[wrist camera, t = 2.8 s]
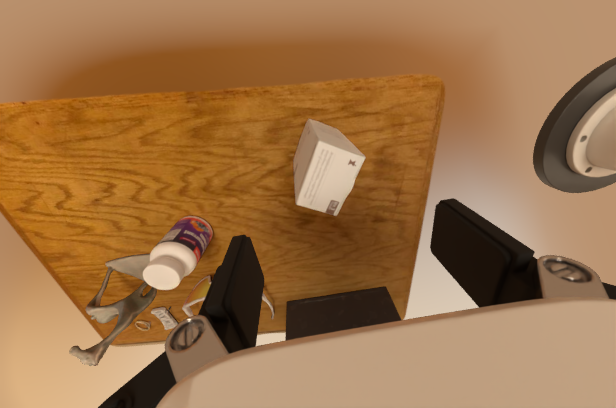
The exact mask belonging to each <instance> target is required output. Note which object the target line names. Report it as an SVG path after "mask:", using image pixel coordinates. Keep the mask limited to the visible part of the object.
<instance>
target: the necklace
mask: <svg viewBox="0 0 616 408" xmlns="http://www.w3.org/2000/svg"><path fill="white" fill-rule="evenodd" d="M170 308H171V306H170ZM170 308H169V310H170ZM151 313H152V314H155V316H156V317H158V318H159V319H160V320H161V322H163V325H164V326H165V330H168V329H171V328H174V327H175V326H176V325H178V324H179V323H177V322H176V320H175V319H174V318H173V317H172V315H171V314H170V313H169V311H167V310H166V308H165V307H161V308H156V309H153V310H152V311H151Z"/></svg>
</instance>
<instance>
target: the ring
mask: <svg viewBox="0 0 616 408" xmlns="http://www.w3.org/2000/svg"><path fill="white" fill-rule="evenodd" d="M142 322H144V321H137V322H136V323H142ZM136 323H135V326H136V327H137V328H138V329H140V330H149V328H150V324H148V323H146V322H144V323H142V324H145V323H146V324H145V325H146V326H147V327H148V329H143V328H140V327H138V326H137V325H136Z"/></svg>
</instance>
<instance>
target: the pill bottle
mask: <svg viewBox="0 0 616 408" xmlns="http://www.w3.org/2000/svg"><path fill="white" fill-rule="evenodd" d="M212 235H213V231H212V228H211V226H210V225H209V223H208V222H206V221H205V220H204V219H202V218H199V217H196V216H187V217H184V218H182V219H180V220H179V221H178V222H177V223H176V224H175V225H174V226H173V227H172V228H171V230H170V231H169V232H168V233H167V234H166V235H165V236H164V237H163V238H162V240H161V241H160V242H159V243H158V244H157V245H156V246H155V247H154V249H153V250H152V251H151V254H150V263H149V264H148V265H147V267H146V268H145V269H144V271H143V278H144V280H145V281H146V283H147V284H149V285H150V286H152V287H154V288H156V289H160V290H170V289H173V288H175V287H177V286H178V285H179V283H180V282H181V280H182V279H183V277H184V276H187V275H188V274H190V273H191V272H192V271H193V270H194V269H195V267H196V265H197V263H198V262H199V260H200V258H201V256H202V254H203V253H204V251H205V249H206V247H207V246H208V244H209V242H210V241H211V238H212Z"/></svg>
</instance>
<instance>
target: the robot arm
mask: <svg viewBox="0 0 616 408" xmlns="http://www.w3.org/2000/svg"><path fill="white" fill-rule="evenodd" d="M566 159H567V163H568V165H569V167H570V169H572V170H573V171H574V172H576V173H578V174H581V175H584V176H588V177H603V176H608V175H611V174H615V173H616V88H615V89H613V90H612V91H610V92H609V93H607V94H606V95H604V96H603V97H602V98H601V99H600V100H598V101H597V102H596V103H595V104H594V105H593V106H592V107H591V108H590V109H589V110H588V111H587V112H586V113H585V114H584V116H583V117H582V118H581V119H580V121H579V122H578V124H577V125H576V127H575V128H574V130H573V132H572V134H571V136H570V138H569V141H568V145H567V149H566ZM430 248H431V252H432V253H433V255H434V256H435V257H436V258H437V259H438V260H439V262H440V263H441V264H442V265H443V266H444V267H445V269H446V270H447V271H448V272H449V273H450V274H451V275H452V276H453V278H454V279H455V280H456V281H457V282H458V283H459V285H460V286H461V287H462V288H463V289H464V290H465V292H466V293H467V294H468V295H469V296H470V297H471V298H472V300H473V301H474V302H475V303H476V304H477V305H478V306H479V308H475V309H468V310H462V311H455V312H449V313H443V314H437V315H431V316H425V317H419V318H413V319H408V320H401V321H395V322H389V323H383V324H377V325H371V326H365V327H360V328H354V329H348V330H342V331H337V332H331V333H325V334H319V335H314V336H308V337H302V338H296V339H291V340H286V341H281V342H276V343H270V344H265V345H261V346H256V338H257V331H258V324H259V317H260V309H261V302H262V295H263V287H264V276H263V273H262V270H261V267H260V264H259V261H258V258H257V256H256V253H255V250H254V247H253V244H252V241H251V239H250V237H246V235H240V236H234V237H233V238H232V240H231V242H230V245H229V248H228V250H227V253H226V255H225V258H224V260H223V263H222V265H221V266H219V267H218V268H217V270H216V273H215V275H214V278H213V280H212V282H211V285H210V287H209V290H208V292H207V295H206V297H205V299H204V302H203V304H202V307H201V309H200V312H199V314H198V315H194V316H191V317H188V318H186V319H185V320H183V321H181V322H180V323H179V324H178V325H176V326H175V327H174V329H173V330H172V331H171V332H170V334H169V336H168V337H167V339H166V343H165V352H164V353H162V354H161V355H160V356H159V357H158V358H156V359H155V360H154V361H153V362H151V364H149V365H148V366H147V367H146V368H144V369H143V370H142V371H141V372H139V373H138V374H137V375H136V376H135V377H133V378H132V379H131V380H130V381H128V382H127V383H126V384H125V385H124V386H122V387H121V388H120V389H119V390H118V391H117V392H115V393H114V394H113V395H111V396H110V397H109V398H108V399H107V400H106V401H104V402H103V404H101V405H100V406H99V407H98V408H616V286H614V285H610V284H607V283H603V282H601V280H600V277H599V276H598V275H597V273H596V272H595V271H593V270H592V269H591V268H590V267H588V266H586V265H584V264H582V263H580V262H578V261H575V260H572V259H569V258H565V257H562V256H554V255H546V256H542V257H540V258H539V259H538V260H537V259H536V258H534V257H533V254H534V251H533V250H531V249H530V248H528V247H527V246H525V245H524V244H522V243H521V242H519V241H518V240H516V239H515V238H513V237H512V236H510V235H509V234H507V233H505V232H504V231H503V230H501V229H500V228H498V227H497V226H495V225H494V224H492V223H491V222H489V221H488V220H486V219H485V218H483V217H482V216H480V215H478V214H477V213H475V212H474V211H472V210H471V209H469V208H468V207H466V206H465V205H463V204H462V203H460V202H459V201H457V200H456V199H447V200H441V201H440V202H439V204H437V205H436V209H435V216H434V224H433V231H432V238H431V246H430ZM255 346H256V347H255Z"/></svg>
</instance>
